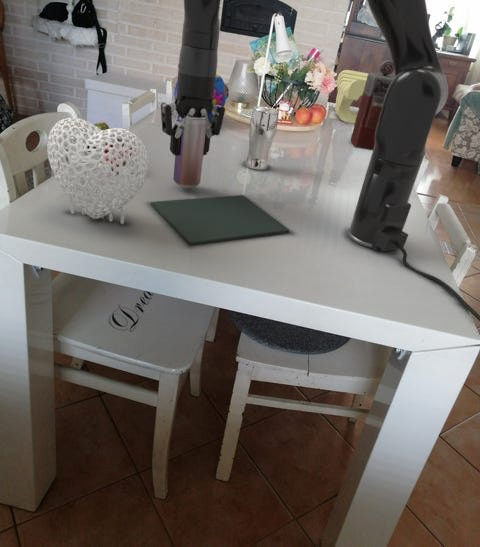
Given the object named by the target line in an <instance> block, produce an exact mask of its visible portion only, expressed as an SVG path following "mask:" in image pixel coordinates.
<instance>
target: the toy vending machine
mask: <svg viewBox="0 0 480 547" xmlns="http://www.w3.org/2000/svg"><path fill="white" fill-rule="evenodd" d="M379 71H380V73H379V72H378V73H377V72H369V73H368V77H367V80H366V84H365V88H364V91H363V95H362V96H361V99H360V103H359V107H358V111H357V117H356V121H355V123H354V124H353V128H352V132H351V136H350V140H349V141H350V143H351V144H352V146H353V147H354V148H357V149H364V150H370V151H373V149H374V145H375V132H376V128H377V124H378V120H379V116H380V112H381V109H382V105H383V101H384V98H385V95H386V92H387V90H388V87H389V85H390V83H391V82H392V80H393V79H394V78H395V75H394V76H393V75H391V74H393V73H394V66H393V61H392V60H387V59H386V60H384V61H382V62H381V63H380V65H379Z"/></svg>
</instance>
